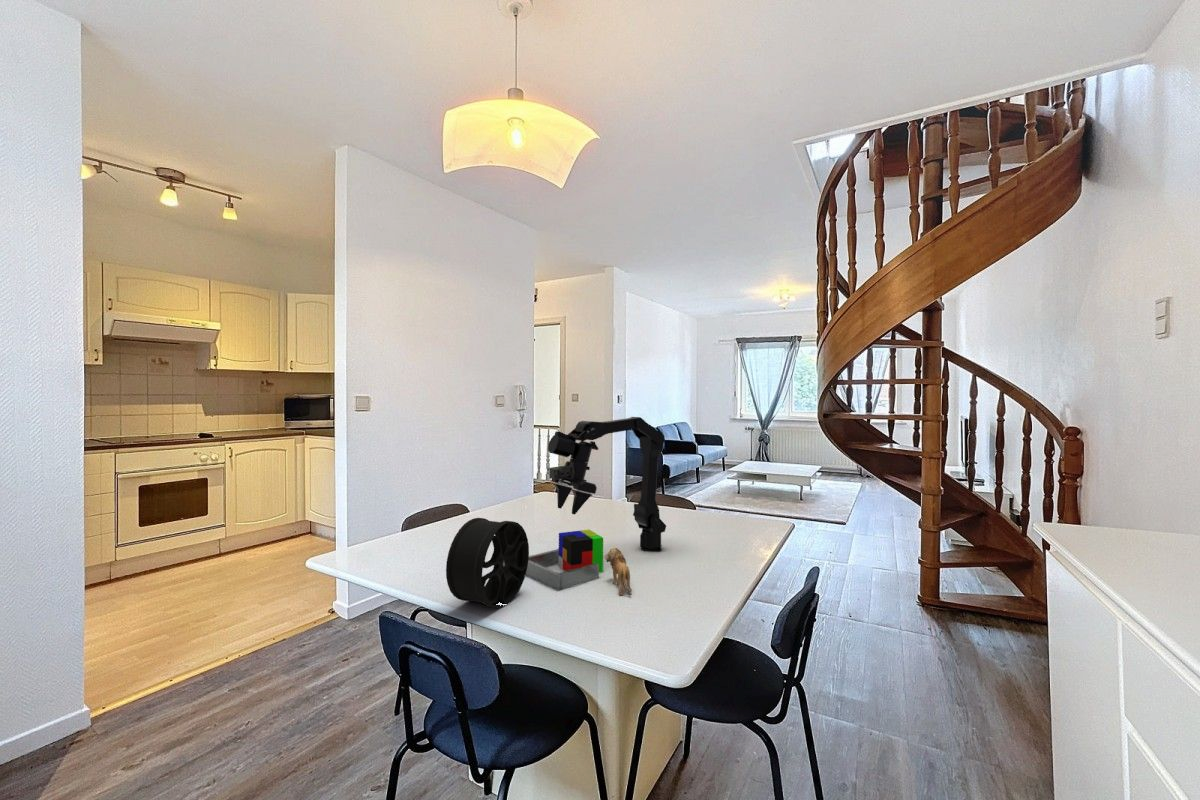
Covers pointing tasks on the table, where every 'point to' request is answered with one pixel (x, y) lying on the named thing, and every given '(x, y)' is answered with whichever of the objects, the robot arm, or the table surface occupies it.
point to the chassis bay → (556, 579)
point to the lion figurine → (619, 569)
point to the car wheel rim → (470, 561)
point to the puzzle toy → (580, 549)
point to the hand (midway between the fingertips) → (566, 511)
